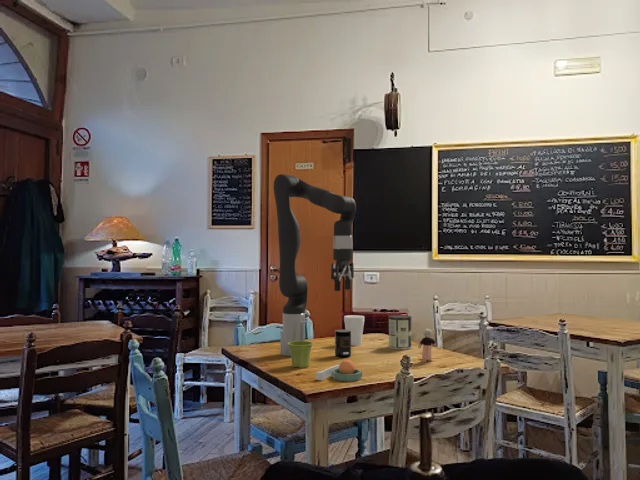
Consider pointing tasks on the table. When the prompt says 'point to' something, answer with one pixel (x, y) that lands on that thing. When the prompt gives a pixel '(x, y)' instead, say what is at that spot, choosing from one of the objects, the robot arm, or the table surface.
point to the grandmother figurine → (427, 346)
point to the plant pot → (300, 353)
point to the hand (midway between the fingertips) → (342, 290)
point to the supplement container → (342, 343)
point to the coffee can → (400, 332)
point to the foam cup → (355, 328)
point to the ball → (346, 367)
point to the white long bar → (325, 372)
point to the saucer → (346, 375)
